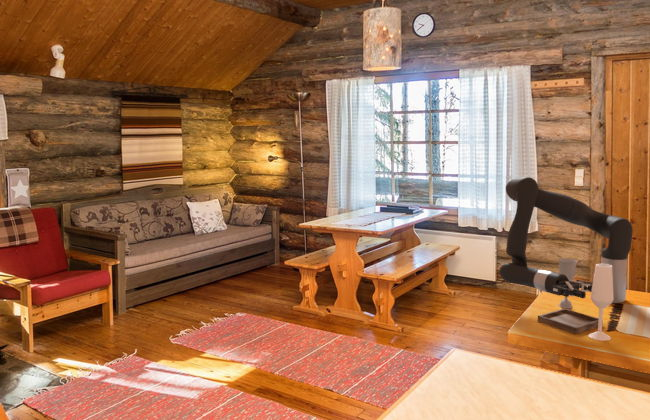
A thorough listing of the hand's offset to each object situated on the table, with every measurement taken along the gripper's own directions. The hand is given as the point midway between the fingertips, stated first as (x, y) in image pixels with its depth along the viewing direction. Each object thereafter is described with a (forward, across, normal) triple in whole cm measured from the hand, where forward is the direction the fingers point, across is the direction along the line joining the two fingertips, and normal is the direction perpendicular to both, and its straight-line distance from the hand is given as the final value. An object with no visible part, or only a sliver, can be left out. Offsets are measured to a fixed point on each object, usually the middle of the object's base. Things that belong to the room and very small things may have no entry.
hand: (593, 293), depth 188 cm
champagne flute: (+3, 0, +14) cm, 15 cm away
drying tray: (-10, +3, +14) cm, 17 cm away
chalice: (-23, +19, +14) cm, 33 cm away
